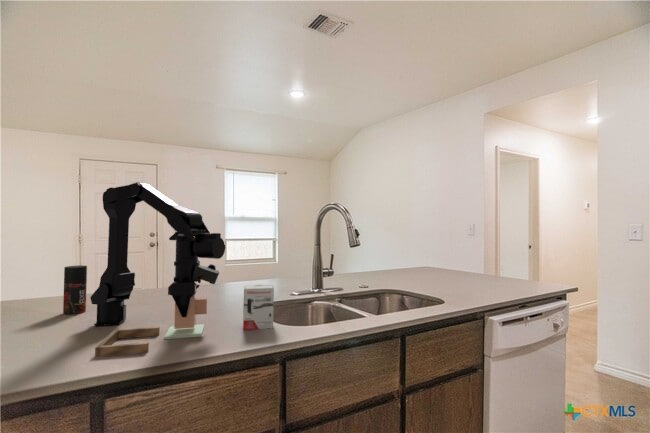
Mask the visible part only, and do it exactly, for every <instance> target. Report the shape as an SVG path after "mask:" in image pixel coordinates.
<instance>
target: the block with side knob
mask: <svg viewBox="0 0 650 433" xmlns="http://www.w3.org/2000/svg"><path fill="white" fill-rule="evenodd" d="M207 313H208V298H207V297H206V298H197V292H196V293H195V294H194V295H193V296H192V297H191V298H190V303H189V308H188V312H187V316H186V317H182V316H181V314H180V312H179V309H178V307H177V305H176V303H175V302H174V326H175V327H174V329H182V328H194V326H195V325H196V322H197V315H207Z"/></svg>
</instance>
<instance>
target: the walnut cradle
mask: <svg viewBox="0 0 650 433" xmlns="http://www.w3.org/2000/svg"><path fill="white" fill-rule="evenodd" d="M154 336H156V337H157V336H160V326H150V327H136V328H135V327H131V328H120V329H119V328H118V329H117V328H116V329H114V330H113V331H111V333H109V335H107V336H106V337H105V338H104V339H103V340H102V341H101V342H100V343H99V344H98V345H97V346H95V347H94V357H95V358H96V357H107V356H108V357H109V356H122V355H135V354H145V353H148V352H149V348H150V347H149V346H150V345H149V344H150V342H149V341H147V342H146V341H145V342H134V343H122V344H121V343H120V344H114V343H115V342H116V341H117V340H118V339H128V338H141V337H143V338H144V337H154Z"/></svg>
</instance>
